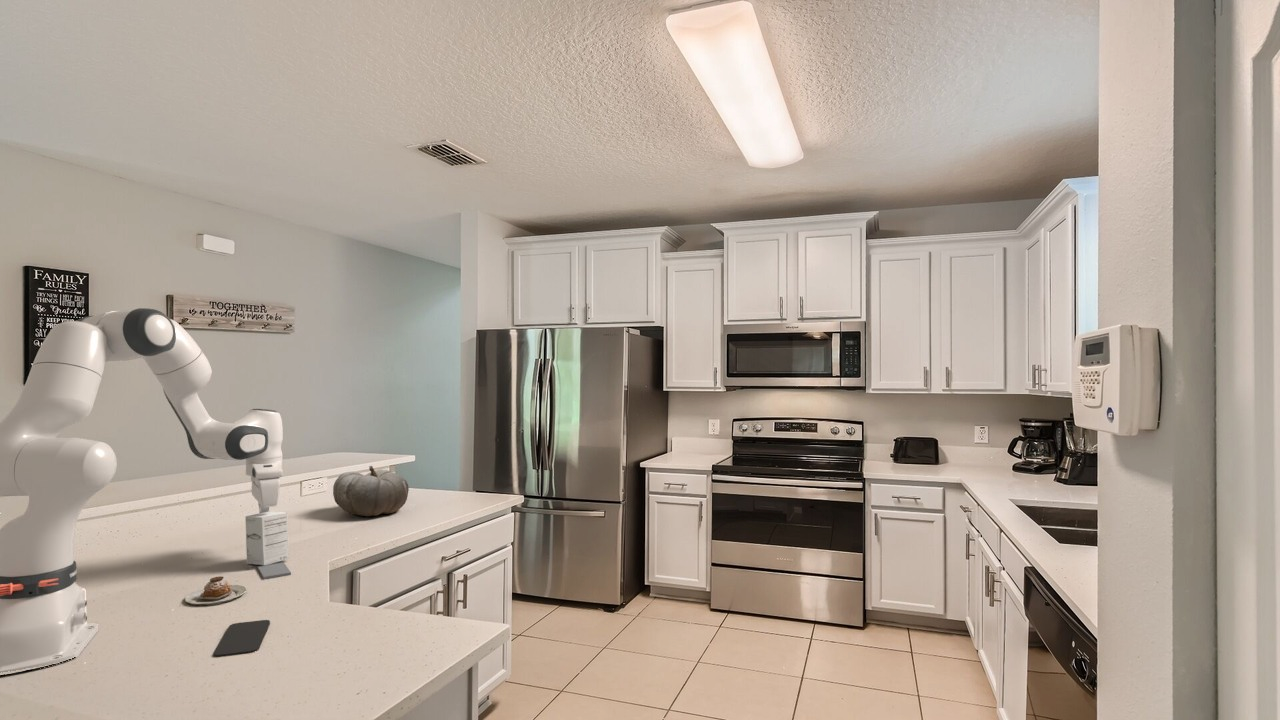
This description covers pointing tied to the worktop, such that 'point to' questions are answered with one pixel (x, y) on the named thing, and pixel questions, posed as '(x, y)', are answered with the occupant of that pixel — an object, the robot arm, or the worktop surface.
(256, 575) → the worktop surface
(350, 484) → the gourd
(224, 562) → the worktop surface
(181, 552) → the worktop surface
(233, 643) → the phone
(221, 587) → the pastry
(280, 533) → the supplement box
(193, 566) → the worktop surface
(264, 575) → the slate mat
